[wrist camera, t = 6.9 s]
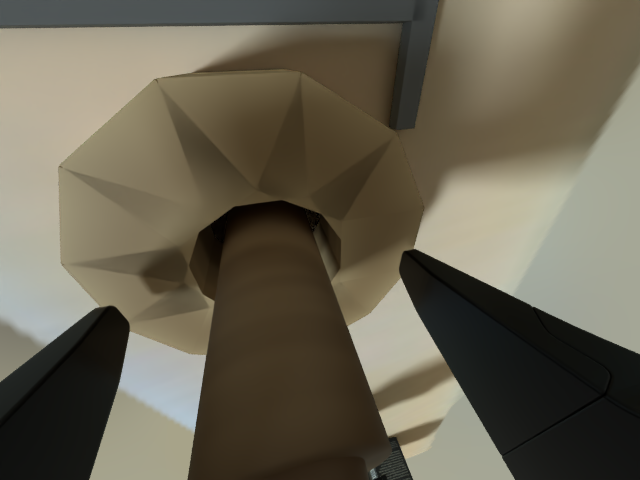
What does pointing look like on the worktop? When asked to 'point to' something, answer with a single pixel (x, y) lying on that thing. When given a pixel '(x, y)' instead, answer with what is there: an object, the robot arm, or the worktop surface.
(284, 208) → the brown cylinder
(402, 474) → the small box
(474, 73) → the worktop surface
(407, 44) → the gray l-shaped bar
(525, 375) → the robot arm
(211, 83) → the bead
